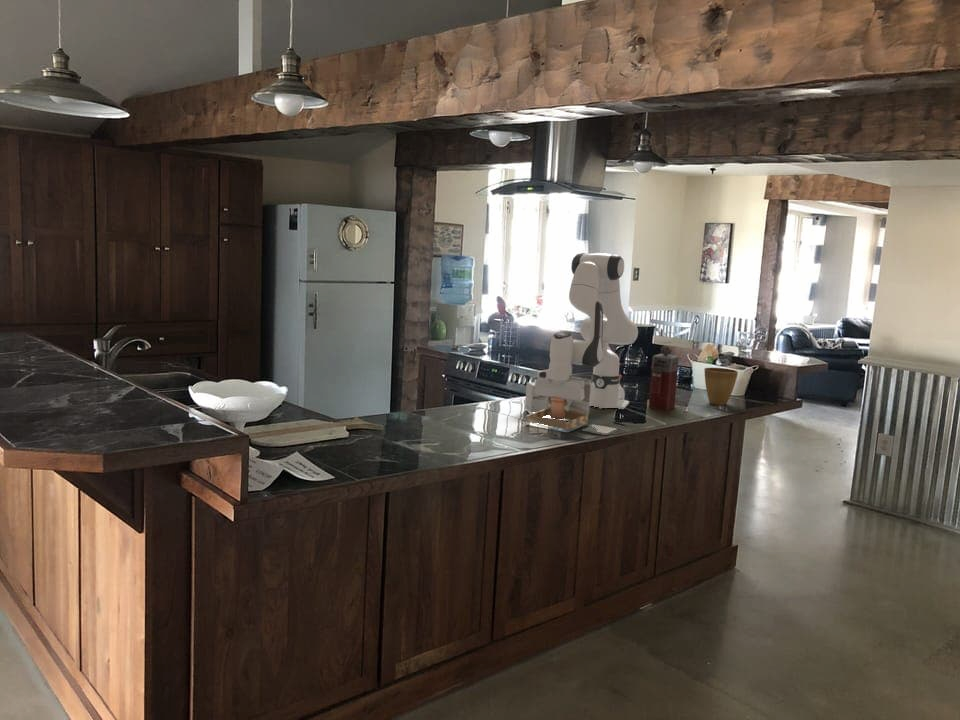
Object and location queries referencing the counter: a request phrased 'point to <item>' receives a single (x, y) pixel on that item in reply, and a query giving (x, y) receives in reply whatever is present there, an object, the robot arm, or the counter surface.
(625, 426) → the counter surface
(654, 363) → the red liquid bottle
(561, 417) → the terracotta pot
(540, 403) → the supplement box
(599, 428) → the stone paver
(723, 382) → the plant pot
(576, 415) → the cold frame
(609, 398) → the robot arm
